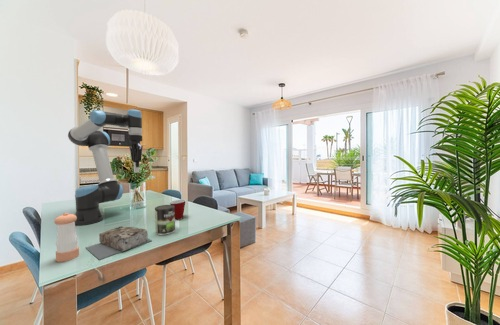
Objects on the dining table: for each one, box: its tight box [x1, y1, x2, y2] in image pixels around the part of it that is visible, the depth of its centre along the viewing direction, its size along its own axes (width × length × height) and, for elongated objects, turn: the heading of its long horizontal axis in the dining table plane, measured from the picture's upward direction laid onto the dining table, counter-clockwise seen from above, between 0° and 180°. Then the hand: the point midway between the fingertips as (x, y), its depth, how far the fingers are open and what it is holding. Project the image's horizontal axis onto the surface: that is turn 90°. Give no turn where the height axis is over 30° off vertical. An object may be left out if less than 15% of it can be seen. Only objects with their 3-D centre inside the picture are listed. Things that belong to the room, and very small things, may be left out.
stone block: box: [98, 226, 149, 252], centre depth 98 cm, size 13×7×20 cm
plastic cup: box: [168, 199, 187, 220], centre depth 135 cm, size 11×11×12 cm
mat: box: [85, 237, 152, 261], centre depth 96 cm, size 18×22×1 cm
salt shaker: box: [54, 212, 80, 263], centre depth 84 cm, size 7×7×19 cm
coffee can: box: [154, 204, 176, 236], centre depth 112 cm, size 10×10×14 cm
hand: (136, 172), depth 126 cm, fingers closed
